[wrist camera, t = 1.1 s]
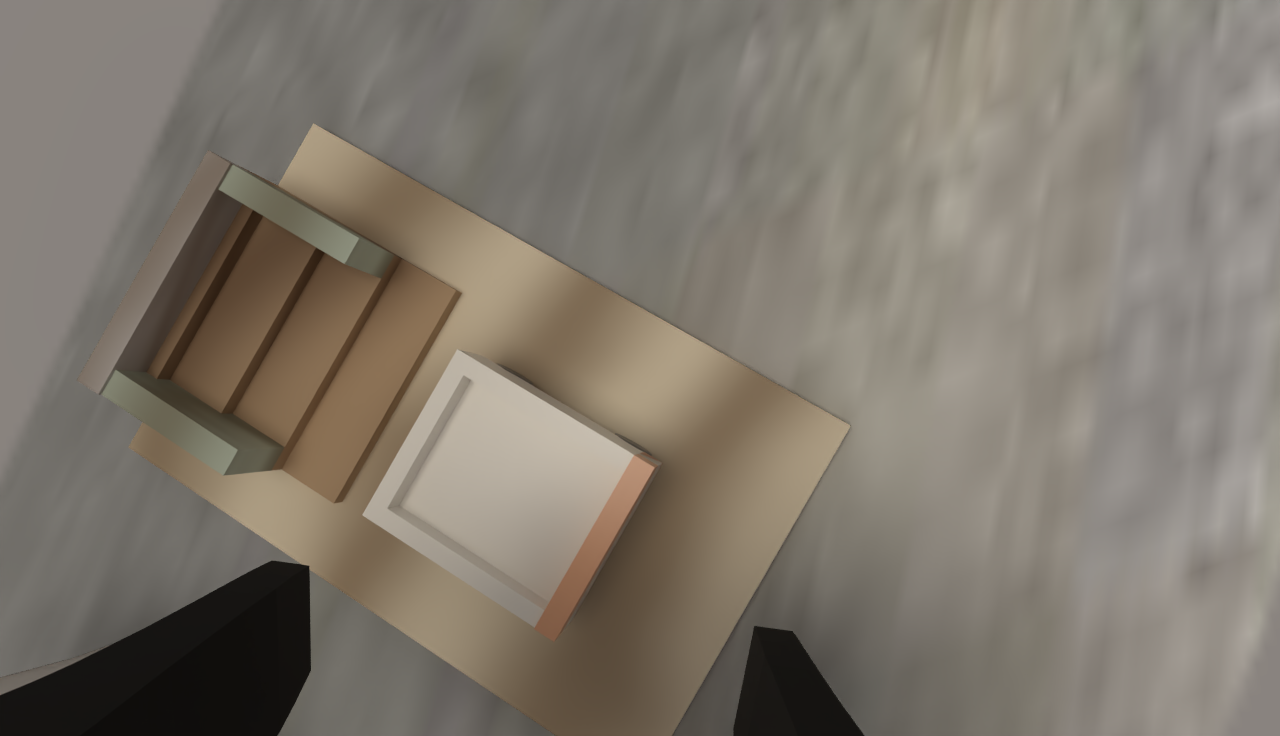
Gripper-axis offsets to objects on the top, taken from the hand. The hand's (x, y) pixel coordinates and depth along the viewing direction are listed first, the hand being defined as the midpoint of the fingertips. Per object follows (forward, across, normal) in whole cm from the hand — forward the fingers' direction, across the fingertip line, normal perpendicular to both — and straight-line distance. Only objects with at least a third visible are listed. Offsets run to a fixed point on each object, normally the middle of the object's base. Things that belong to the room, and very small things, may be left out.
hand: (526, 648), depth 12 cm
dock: (+11, +4, +2) cm, 12 cm away
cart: (+10, +1, +2) cm, 10 cm away
